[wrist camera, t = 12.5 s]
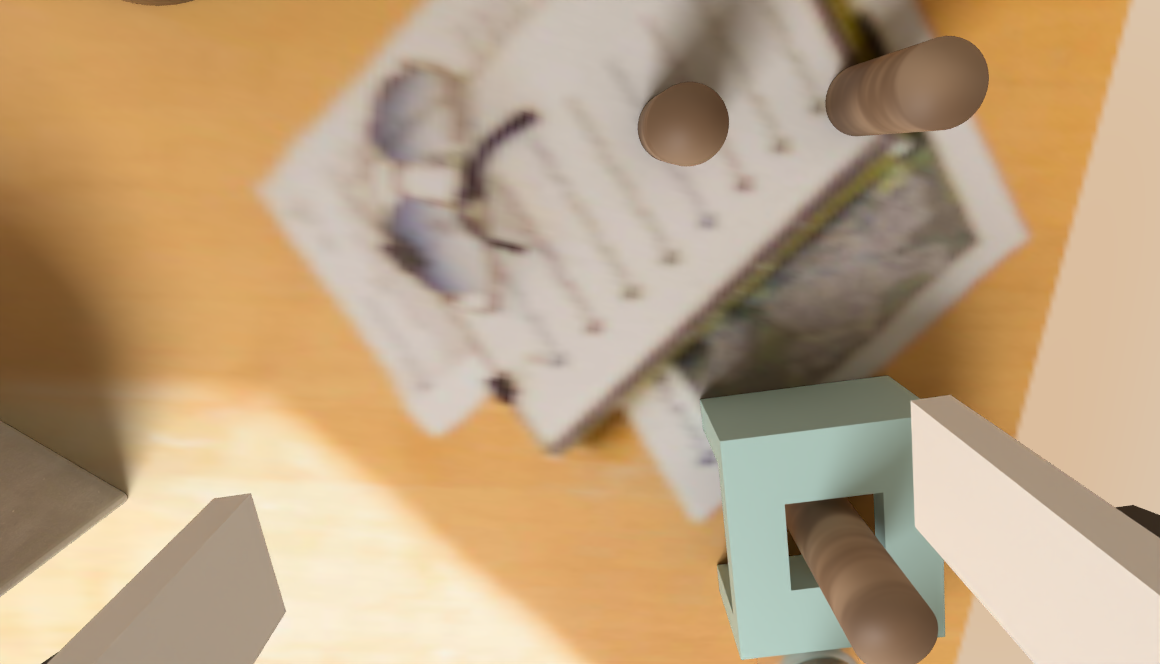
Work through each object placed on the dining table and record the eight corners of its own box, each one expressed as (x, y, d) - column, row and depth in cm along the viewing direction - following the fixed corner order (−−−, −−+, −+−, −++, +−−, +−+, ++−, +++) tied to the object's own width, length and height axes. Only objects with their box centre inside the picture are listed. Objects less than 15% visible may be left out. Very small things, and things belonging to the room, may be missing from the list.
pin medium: (823, 69, 42) (896, 42, 32) (893, 59, 41) (988, 29, 32) (827, 140, 42) (899, 136, 33) (895, 130, 42) (988, 123, 33)
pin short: (635, 94, 42) (645, 85, 35) (704, 88, 42) (727, 78, 35) (640, 165, 43) (650, 169, 36) (707, 159, 43) (730, 162, 36)
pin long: (767, 463, 47) (848, 600, 33) (828, 455, 47) (937, 590, 33) (771, 518, 48) (852, 675, 34) (831, 510, 48) (939, 665, 34)
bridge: (699, 399, 46) (719, 441, 40) (887, 375, 46) (940, 413, 39) (719, 590, 50) (741, 659, 43) (895, 570, 49) (945, 636, 42)
